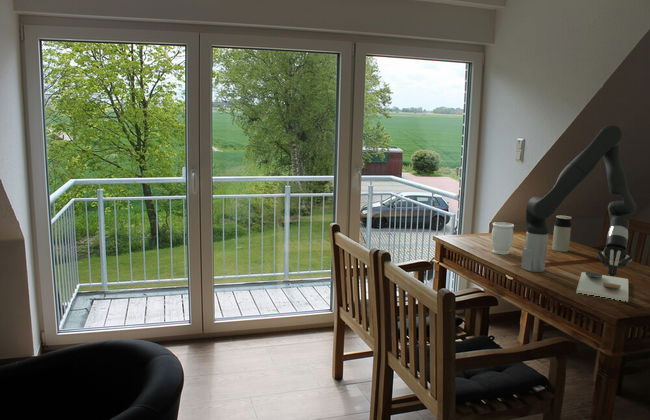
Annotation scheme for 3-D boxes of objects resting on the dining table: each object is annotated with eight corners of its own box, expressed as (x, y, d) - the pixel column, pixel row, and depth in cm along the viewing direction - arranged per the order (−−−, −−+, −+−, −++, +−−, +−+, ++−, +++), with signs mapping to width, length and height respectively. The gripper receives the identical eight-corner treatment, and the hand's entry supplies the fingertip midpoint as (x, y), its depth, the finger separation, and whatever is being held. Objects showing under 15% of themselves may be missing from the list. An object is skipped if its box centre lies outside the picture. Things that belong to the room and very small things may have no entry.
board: (581, 275, 239) (581, 271, 239) (627, 282, 231) (628, 279, 230) (576, 293, 214) (576, 289, 214) (627, 302, 206) (628, 298, 205)
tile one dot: (586, 272, 234) (586, 271, 225) (602, 274, 231) (602, 273, 223) (586, 275, 234) (585, 275, 225) (601, 278, 231) (601, 277, 222)
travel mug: (569, 252, 278) (573, 218, 275) (552, 251, 280) (556, 217, 277) (567, 249, 286) (571, 216, 283) (551, 247, 288) (554, 214, 285)
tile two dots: (603, 282, 220) (603, 282, 211) (620, 285, 217) (620, 285, 208) (603, 286, 220) (602, 286, 211) (619, 289, 217) (620, 288, 208)
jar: (504, 256, 267) (507, 227, 264) (485, 252, 275) (488, 223, 272) (515, 253, 274) (518, 224, 271) (497, 249, 282) (499, 221, 279)
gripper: (599, 231, 222) (594, 267, 214) (636, 236, 216) (632, 273, 208) (598, 241, 228) (593, 276, 219) (634, 247, 222) (630, 283, 213)
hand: (612, 275), depth 214 cm, fingers closed
